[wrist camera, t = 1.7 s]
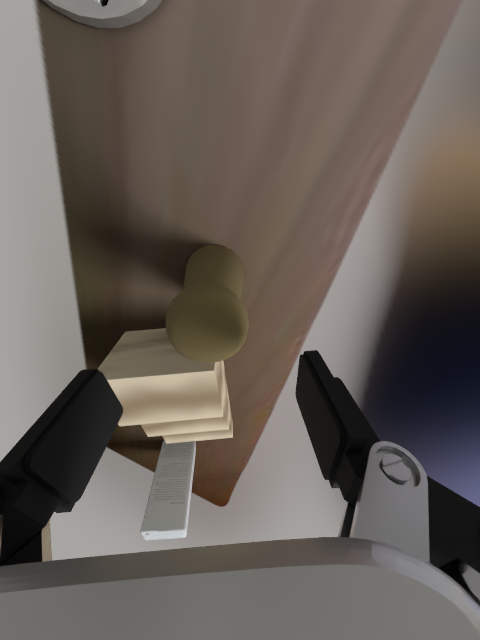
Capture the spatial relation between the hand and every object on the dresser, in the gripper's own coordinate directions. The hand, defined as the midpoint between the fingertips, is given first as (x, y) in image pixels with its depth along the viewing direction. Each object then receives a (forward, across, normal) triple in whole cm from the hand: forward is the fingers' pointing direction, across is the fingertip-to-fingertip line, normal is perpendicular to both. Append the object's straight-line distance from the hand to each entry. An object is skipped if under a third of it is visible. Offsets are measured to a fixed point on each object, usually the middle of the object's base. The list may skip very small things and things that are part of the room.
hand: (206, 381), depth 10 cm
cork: (+14, 0, -1) cm, 14 cm away
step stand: (+14, +6, +16) cm, 22 cm away
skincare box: (+14, +11, +32) cm, 37 cm away
